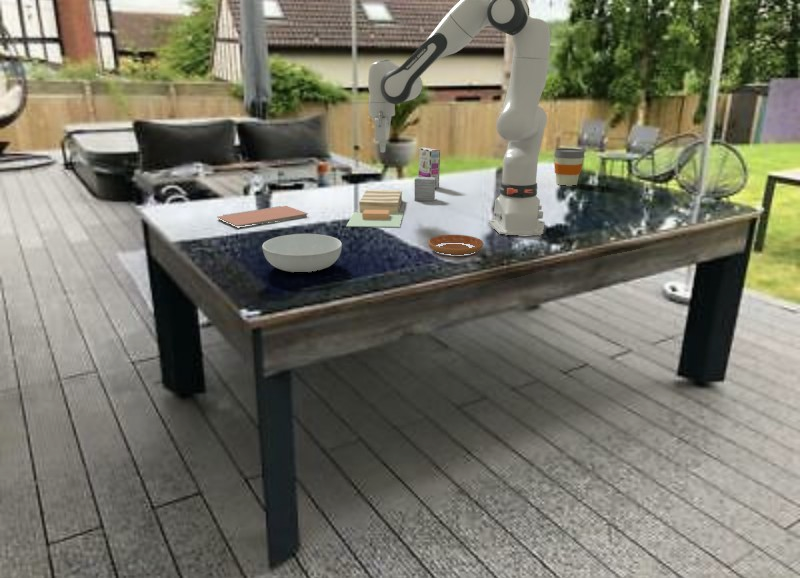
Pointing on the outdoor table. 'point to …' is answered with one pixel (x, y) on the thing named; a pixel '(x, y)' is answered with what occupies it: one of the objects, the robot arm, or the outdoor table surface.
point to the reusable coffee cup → (568, 165)
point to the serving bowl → (302, 252)
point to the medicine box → (424, 189)
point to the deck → (381, 200)
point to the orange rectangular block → (376, 214)
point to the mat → (375, 221)
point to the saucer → (455, 248)
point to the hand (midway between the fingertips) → (382, 151)
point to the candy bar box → (429, 164)
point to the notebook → (263, 216)
